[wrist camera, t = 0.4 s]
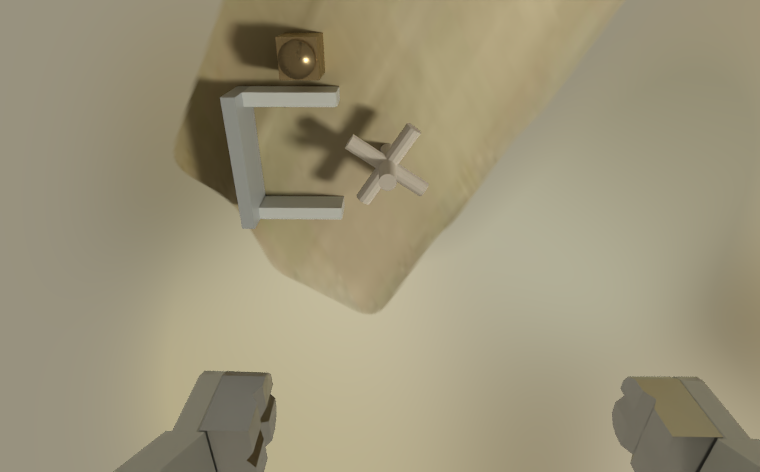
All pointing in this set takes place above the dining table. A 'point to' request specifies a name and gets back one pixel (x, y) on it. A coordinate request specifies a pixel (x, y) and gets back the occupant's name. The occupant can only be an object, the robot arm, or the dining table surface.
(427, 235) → the dining table surface
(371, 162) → the beige crossed rod piece
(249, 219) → the socket cradle
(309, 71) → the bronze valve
